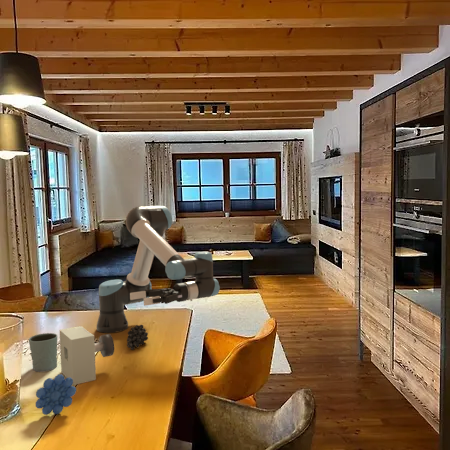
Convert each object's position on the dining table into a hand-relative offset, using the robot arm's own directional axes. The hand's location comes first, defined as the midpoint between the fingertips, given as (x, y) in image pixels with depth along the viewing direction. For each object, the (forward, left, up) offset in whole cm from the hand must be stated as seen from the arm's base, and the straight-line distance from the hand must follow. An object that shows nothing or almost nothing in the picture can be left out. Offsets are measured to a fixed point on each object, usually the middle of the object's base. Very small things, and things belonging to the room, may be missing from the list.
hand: (136, 299), depth 180 cm
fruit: (-18, +6, -25) cm, 31 cm away
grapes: (+25, -38, -25) cm, 52 cm away
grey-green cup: (-16, -32, -25) cm, 43 cm away
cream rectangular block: (0, -24, -25) cm, 34 cm away
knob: (0, -17, -20) cm, 26 cm away
